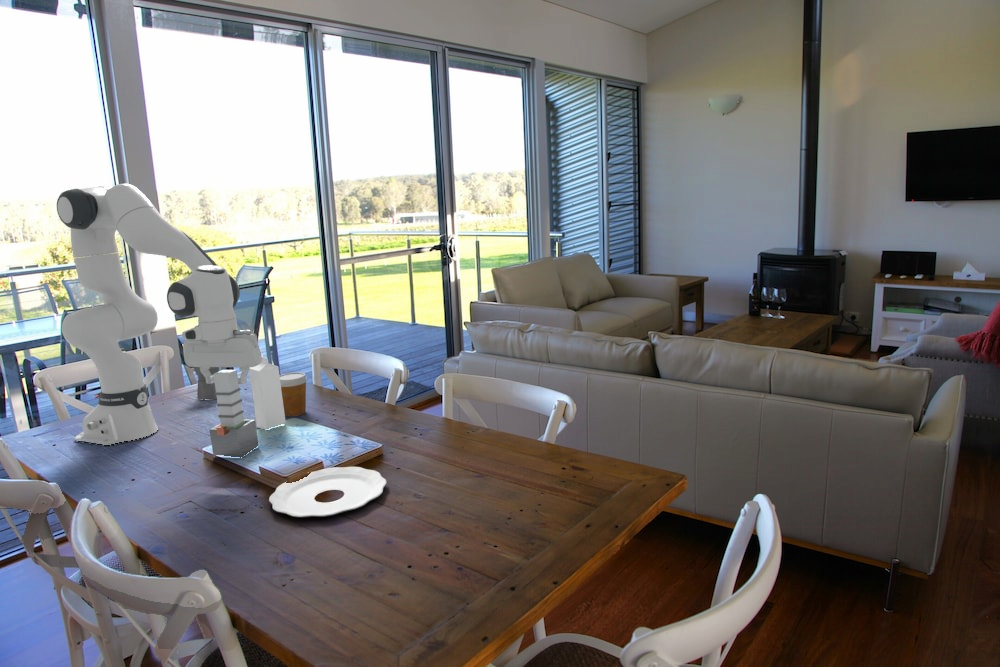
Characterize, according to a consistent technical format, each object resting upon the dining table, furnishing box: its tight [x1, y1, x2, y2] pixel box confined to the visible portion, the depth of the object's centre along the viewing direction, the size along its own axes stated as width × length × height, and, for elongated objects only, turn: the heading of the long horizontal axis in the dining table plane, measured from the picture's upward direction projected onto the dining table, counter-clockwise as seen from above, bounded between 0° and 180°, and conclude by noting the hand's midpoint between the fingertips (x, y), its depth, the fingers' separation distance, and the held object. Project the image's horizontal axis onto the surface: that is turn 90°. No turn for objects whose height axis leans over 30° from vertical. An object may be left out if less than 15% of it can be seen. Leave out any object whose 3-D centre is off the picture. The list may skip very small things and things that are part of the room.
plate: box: [268, 466, 387, 519], centre depth 152 cm, size 25×25×2 cm
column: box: [213, 369, 245, 429], centre depth 176 cm, size 4×4×16 cm
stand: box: [208, 418, 260, 459], centre depth 178 cm, size 14×14×10 cm
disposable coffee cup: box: [279, 372, 308, 417], centre depth 211 cm, size 10×10×12 cm
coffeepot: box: [192, 367, 231, 401], centre depth 235 cm, size 15×9×18 cm, turn 125°
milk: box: [248, 355, 287, 430], centre depth 196 cm, size 6×6×22 cm
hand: (226, 383), depth 175 cm, fingers open, 8 cm apart
